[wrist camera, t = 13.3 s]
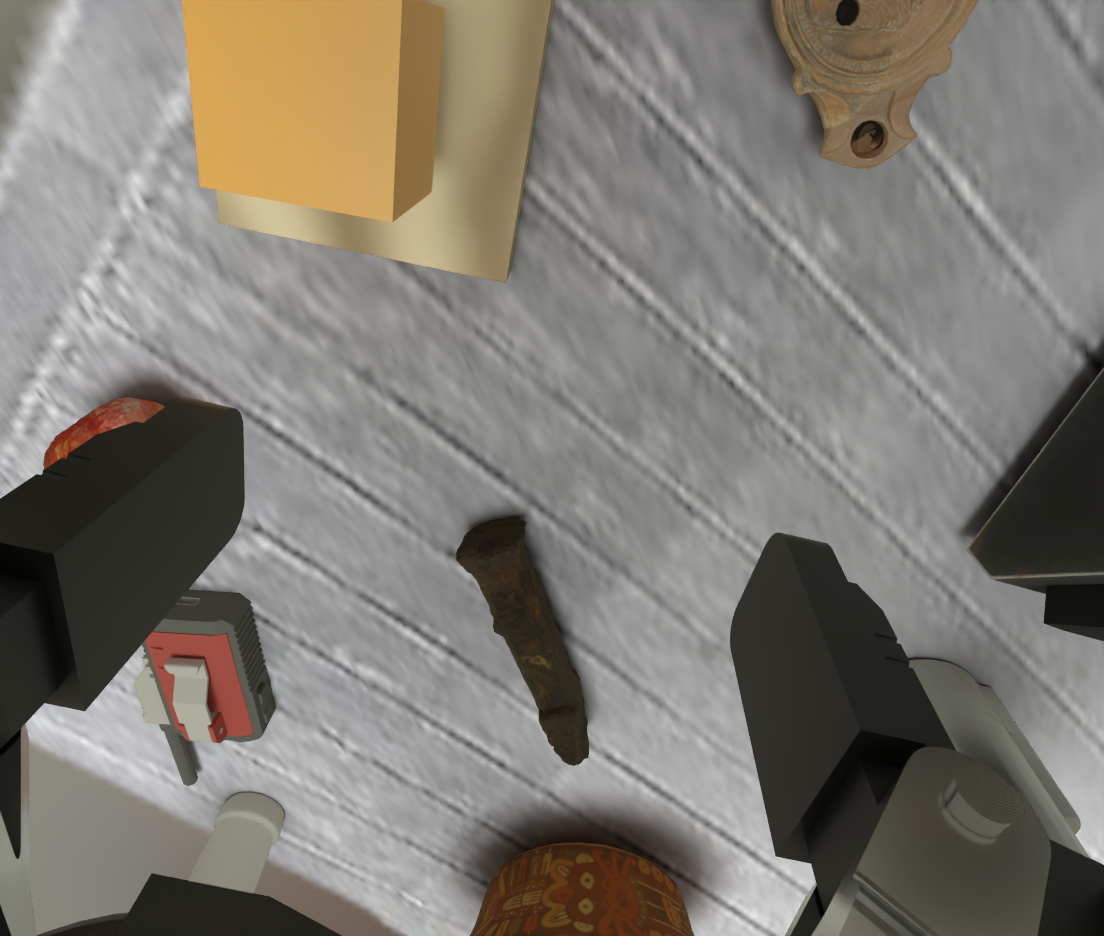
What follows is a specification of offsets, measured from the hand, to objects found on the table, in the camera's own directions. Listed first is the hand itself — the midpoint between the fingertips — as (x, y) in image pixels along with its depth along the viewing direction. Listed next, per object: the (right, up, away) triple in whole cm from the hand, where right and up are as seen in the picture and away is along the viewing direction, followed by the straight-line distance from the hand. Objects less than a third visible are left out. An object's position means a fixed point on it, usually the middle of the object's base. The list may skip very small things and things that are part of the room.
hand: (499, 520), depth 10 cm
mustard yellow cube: (-6, +15, +14) cm, 21 cm away
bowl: (+3, -34, +48) cm, 59 cm away
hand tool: (+1, -10, +34) cm, 36 cm away
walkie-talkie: (-23, -14, +38) cm, 47 cm away
